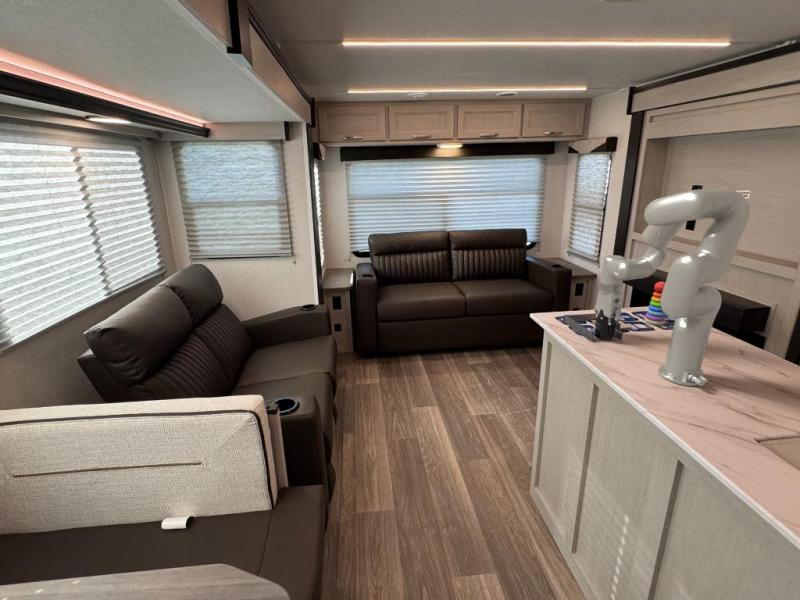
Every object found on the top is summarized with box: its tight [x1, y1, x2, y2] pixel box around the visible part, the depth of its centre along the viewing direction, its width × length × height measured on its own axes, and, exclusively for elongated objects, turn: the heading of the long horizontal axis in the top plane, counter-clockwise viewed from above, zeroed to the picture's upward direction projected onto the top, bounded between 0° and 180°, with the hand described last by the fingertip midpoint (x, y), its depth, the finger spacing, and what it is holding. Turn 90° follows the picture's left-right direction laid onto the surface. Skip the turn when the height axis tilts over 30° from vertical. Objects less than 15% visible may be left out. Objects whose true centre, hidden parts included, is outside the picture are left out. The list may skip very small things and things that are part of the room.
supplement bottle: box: [594, 309, 614, 341], centre depth 162 cm, size 7×7×12 cm
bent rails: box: [562, 312, 624, 342], centre depth 172 cm, size 22×18×3 cm
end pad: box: [591, 320, 632, 330], centre depth 177 cm, size 10×12×1 cm
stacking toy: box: [643, 281, 667, 326], centre depth 176 cm, size 8×8×19 cm
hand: (604, 329), depth 162 cm, fingers closed on supplement bottle, 6 cm apart
